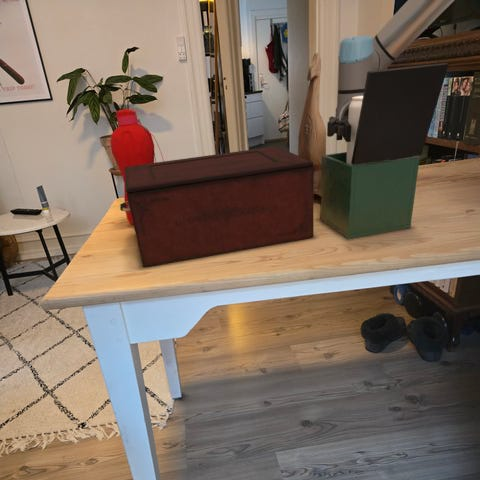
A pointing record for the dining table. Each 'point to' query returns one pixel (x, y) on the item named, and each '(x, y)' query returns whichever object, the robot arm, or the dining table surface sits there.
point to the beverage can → (354, 126)
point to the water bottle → (131, 145)
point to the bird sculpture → (313, 125)
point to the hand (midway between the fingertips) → (373, 132)
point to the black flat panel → (397, 112)
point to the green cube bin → (367, 195)
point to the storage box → (219, 203)
